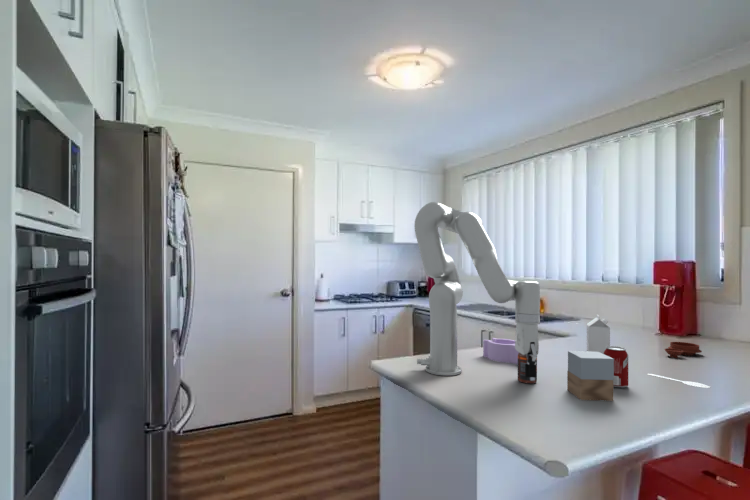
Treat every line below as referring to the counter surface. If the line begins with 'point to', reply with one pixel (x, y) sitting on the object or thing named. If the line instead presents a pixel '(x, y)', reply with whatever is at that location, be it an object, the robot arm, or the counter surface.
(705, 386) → the spoon
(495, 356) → the clip
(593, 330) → the milk carton
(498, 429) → the counter surface
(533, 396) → the counter surface
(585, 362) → the tower top block
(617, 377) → the soda can
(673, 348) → the pottery
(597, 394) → the tower base block
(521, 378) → the supplement bottle
